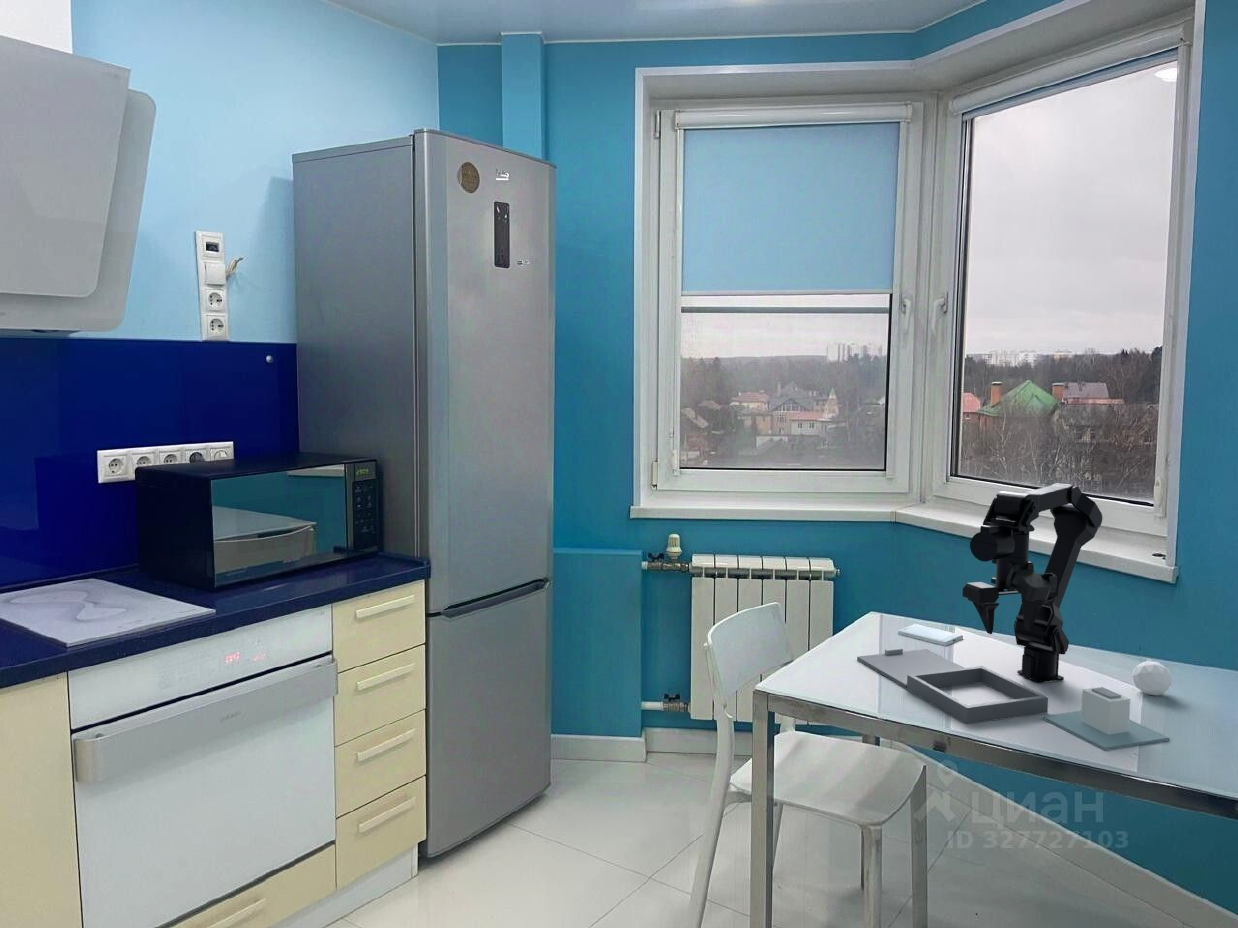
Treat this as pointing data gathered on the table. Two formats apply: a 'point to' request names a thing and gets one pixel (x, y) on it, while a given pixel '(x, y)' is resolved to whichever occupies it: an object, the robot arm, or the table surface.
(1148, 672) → the ornament
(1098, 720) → the block
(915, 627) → the hard drive
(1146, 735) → the mat
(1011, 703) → the case
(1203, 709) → the table surface
